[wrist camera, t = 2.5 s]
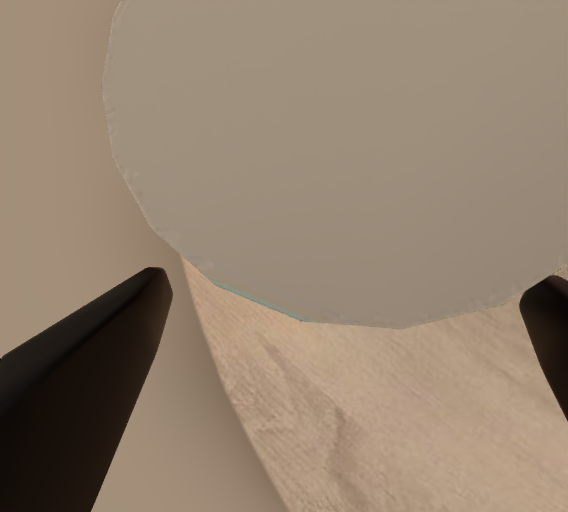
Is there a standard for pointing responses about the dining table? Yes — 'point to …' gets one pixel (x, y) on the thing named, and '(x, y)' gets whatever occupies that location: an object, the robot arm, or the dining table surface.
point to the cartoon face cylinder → (348, 148)
